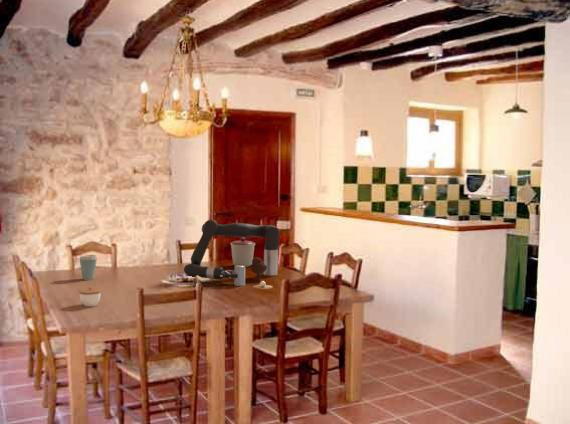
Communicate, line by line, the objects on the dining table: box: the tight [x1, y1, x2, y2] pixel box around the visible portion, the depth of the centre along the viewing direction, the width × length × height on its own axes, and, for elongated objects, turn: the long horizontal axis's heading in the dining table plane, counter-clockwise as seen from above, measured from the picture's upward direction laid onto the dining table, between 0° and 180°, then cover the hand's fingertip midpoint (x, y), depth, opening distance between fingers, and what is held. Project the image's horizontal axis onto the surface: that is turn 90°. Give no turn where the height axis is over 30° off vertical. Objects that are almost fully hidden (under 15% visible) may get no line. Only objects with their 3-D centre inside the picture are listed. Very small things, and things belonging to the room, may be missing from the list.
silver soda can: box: [233, 265, 246, 287], centre depth 367 cm, size 6×6×12 cm
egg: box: [259, 280, 267, 287], centre depth 363 cm, size 3×3×3 cm
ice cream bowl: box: [249, 256, 267, 281], centre depth 385 cm, size 11×11×15 cm
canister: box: [230, 237, 256, 268], centre depth 435 cm, size 18×18×21 cm
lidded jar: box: [78, 286, 102, 307], centre depth 310 cm, size 11×11×9 cm
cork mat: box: [252, 284, 273, 290], centre depth 363 cm, size 12×12×1 cm
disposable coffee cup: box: [79, 254, 98, 281], centre depth 376 cm, size 11×11×15 cm
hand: (239, 275), depth 367 cm, fingers open, 8 cm apart
